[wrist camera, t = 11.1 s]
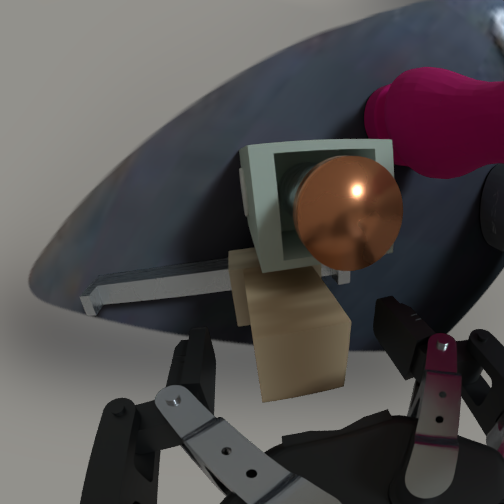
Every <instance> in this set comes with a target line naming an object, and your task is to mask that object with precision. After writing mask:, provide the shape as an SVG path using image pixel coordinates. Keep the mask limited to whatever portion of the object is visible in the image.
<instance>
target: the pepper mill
mask: <svg viewBox="0 0 504 504" xmlns="http://www.w3.org/2000/svg"><path fill="white" fill-rule="evenodd" d="M364 125H365V129H366V133H367V136H368V138H369V139H390V140H392V146H393V162H394V164H396V165H401V166H409V167H410V168H411V169H412V170H414V171H416V172H417V173H419V174H421V175H423V176H426V177H430V178H440V179H449V178H455V177H460V176H463V175H465V174H468V173H470V172H472V171H474V170H476V169H477V168H479V167H482V166H485V165H487V164H495V163H502V164H504V81H503V82H486V81H480V80H475V79H472V78H469V77H466V76H463V75H461V74H458V73H455V72H452V71H449V70H446V69H441V68H434V67H422V68H416V69H411V70H408V71H405V72H404V73H402V74H401V75H399V76H398V77H397V78H396V79H395V80H394V81H393V83H392V84H389V85H386V86H383V87H381V88H379V89H377V90H376V91H375V92H374V93H373V94H372V95H371V96H370V98H369V99H368V101H367V104H366V107H365V112H364Z"/></svg>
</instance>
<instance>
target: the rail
mask: <svg viewBox="0 0 504 504" xmlns="http://www.w3.org/2000/svg"><path fill="white" fill-rule="evenodd" d="M328 275H331V276H332V278H333V279H334V280H335V281H336V283H337V284H338V285H340V284H345V283H350V271H340V270H335V269H332V268H329V267H327V266H325V265H323V264H321V277H322V276H328ZM229 290H232V289H231V282H230V276H229V268H228V258H222V259H215V260H208V261H201V262H193V263H186V264H179V265H171V266H164V267H157V268H149V269H142V270H135V271H127V272H120V273H113V274H105V275H99V276H98V277H97V278H96V279H95V280H94V281H93V282H92V283H91V284H90V286H89V287H88V288H87V289H86V290H85V291H84V292H83V293H82V295H81V296H80V299H81V302H82V304H83V307H84V309H85V312H86V314H87V316H94V315H97V314H98V312H99V311H100V309H101V308H102V306H103V305H104V304H115V303H125V302H135V301H145V300H154V299H163V298H172V297H181V296H189V295H198V294H206V293H213V292H221V291H229Z"/></svg>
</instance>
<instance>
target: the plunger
mask: <svg viewBox="0 0 504 504" xmlns="http://www.w3.org/2000/svg"><path fill="white" fill-rule="evenodd" d="M278 196H279V200H280V203H281V205H282V207H283V208H284V209H285V211H286V212H287V213H288V214H289V215H290V216H291V217H292V218H293V221H294V226H295V229H296V232H297V234H298V237H299V239H300V240H301V242H302V243H303V245H304V246H305V247H306V248H307V250H308V251H309V252H310V253H311V254H312V256H313V257H314V258H315V259H316V260H318V261H319V262H320V263H322V264H323V265H325V266H327V267H329V268H332V269H335V270H340V271H353V270H358V269H362V268H365V267H367V266H369V265H371V264H373V263H375V262H376V261H377V260H379V259H380V258H381V257H382V256H383V255H384V254H385V253H386V252H387V251H388V250H389V249H390V247H391V246H392V245H393V243H394V241H395V239H396V237H397V235H398V233H399V230H400V227H401V223H402V216H403V203H402V197H401V193H400V190H399V187H398V185H397V183H396V181H395V179H394V178H393V176H392V175H391V174H390V172H389V171H388V170H387V169H386V168H385V167H383V166H382V165H381V164H379V163H378V162H376V161H374V160H372V159H369V158H366V157H361V156H344V155H343V156H335V157H331V158H328V159H326V160H324V161H322V162H320V163H312V162H302V163H298V164H295V165H293V166H292V167H290V168H289V169H288V170H287V171H286V172H285V173H284V174H283V176H282V178H281V180H280V182H279V186H278Z"/></svg>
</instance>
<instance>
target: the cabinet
mask: <svg viewBox="0 0 504 504" xmlns="http://www.w3.org/2000/svg"><path fill="white" fill-rule="evenodd" d="M239 155H240V163H241V168H239V176H240V185H241V193H242V201H243V207H244V213H245V216H247V220H248V226H249V229H250V233H251V236H252V240H253V243H254V246H255V250H256V253H257V256H258V260H259V263H260V267H261V270H262V273H266V272H273V271H280V270H287V269H293V268H300V267H307V266H313V265H320V264H322V263H320V262H319V261H318V260H316V259H315V258H314V257H313V256H312V254H311V253H310V252H309V251H308V250H307V248H306V247H305V246H304V245H303V243H302V242H301V240H300V239H299V237H298V234H297V232H296V229H295V226H294V221H293V218H292V217H291V216H290V215H289V214H288V213H287V212H286V211H285V209H284V208H283V207H282V205H281V203H280V200H279V196H278V186H279V182H280V180H281V178H282V176H283V174H284V173H285V172H286V171H287V170H288V169H289V168H290V167H292V166H293V165H295V164H298V163H302V162H312V163H320V162H322V161H324V160H326V159H328V158H331V157H335V156H343V155H344V156H361V157H366V158H369V159H372V160H374V161H376V162H378V163H379V164H381V165H382V166H383V167H385V168H386V169H387V170H388V171H389V172H390V174H391V175H392V176H393V178H394V162H393V146H392V140H390V139H327V140H305V141H289V142H276V143H265V144H255V145H247V146H245V147H243V148H242V149H240V150H239ZM387 253H393V245H392V246H391V247H390V249H389V250H388V251H387V252H386V253H385V254H387Z"/></svg>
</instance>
